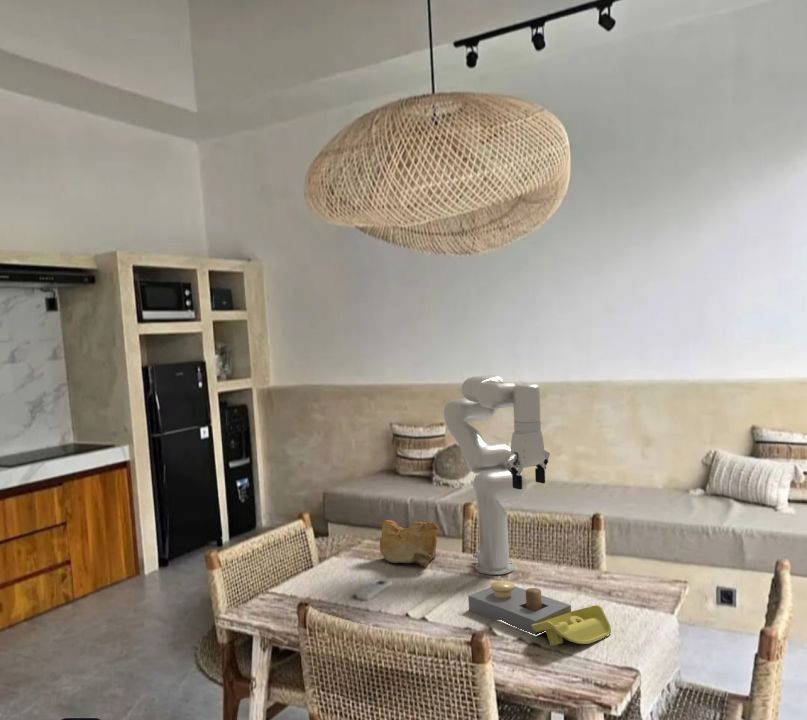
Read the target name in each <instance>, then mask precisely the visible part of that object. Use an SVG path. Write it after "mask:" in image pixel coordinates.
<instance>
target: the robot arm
mask: <svg viewBox="0 0 807 720" xmlns="http://www.w3.org/2000/svg"><path fill="white" fill-rule="evenodd" d="M460 390H461V394H462V396H463V397H461V398H460V397H459V398H455V399H452V400H449V401H448V402H447V403H446V404H445V405H444V407H443V408H444V409H443V417H444V421H445V425H446V427H447V430H448V431H449V433H450V434H451V436H452V437H453V439H454V440H455V441H456V443H457V445H458V447H459V448H460V451H461V454H462V456H463V458H464V460H465V462H466V464H467V467H468V468H469V470H470V472H471V473H473V474H475V475H476V476H475V477H474V479H473V481H472V489H473V494H474V496H475V497H474V498H475V502H476V510H477V511H476V512H477V525H478V528H477V531H478V549H476V550H475V552H474V553H473V554H472V557H473V558H475V559H477V562H476V563H475V566H474V567H475V569H474V570H476V571H477V572H479V573H480V574H485V575H495V576H497V575H498V576H499V575H504V574H508V573H511V572H513V571H514V570H515V564H514V562H512V561H510V549H509V548H510V547H509V544H510V543H509V529H508V527H509V525H508V515H507V514H508V513H507V511H506V509H505V508H504V507H503V505H501V503H500V501H505V500H509V499H510V500H513V499H518V498H521V497H523V496H524V495H525V494H526V493H527V489H528V484H527V478H526V477H525V474H524V472H523V471H524V469H526V468H530V467H536V468H535V469H534V472H535V475H534V478H535V479H534V480H535V482H536V483H538V484H545V483H546V469H547V465H548V463H549V458H550V454H551V453H550V452H548V451H547V450H545V445H544V436H543V432H542V429H541V428H542V427H541V426H542V421H541V393H540V391H541V389H540V387H539V385H538V384H533V383H528V382H527V381H523V380H522V381H520V380H518V381H506V382H505V381H504V380H503V378H502V377H500V376H499V375H495V374H492V375H480V376H476V375H475V376H471V377H468V378H467V379H465V380H464V381H463V383H462V385H461V389H460ZM504 408H513V430H514V431H513V432H512V435H511V440H510V446H509V445H507V444H505V443H501V442H499V443H486V442H485V439H484V438H483V436H482V434H481V432H480V431H479V430H478V429H477V428H476V427H474V426H473V425H472V424H469V423H473V422H474V423H475V422H482V421H483V422H484V421H489V420H491V419H492V418H493V417H494V416H495V414H496V413H497V411H498V409H504Z"/></svg>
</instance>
